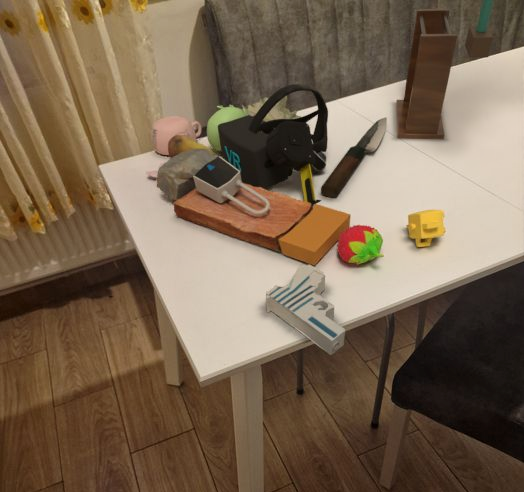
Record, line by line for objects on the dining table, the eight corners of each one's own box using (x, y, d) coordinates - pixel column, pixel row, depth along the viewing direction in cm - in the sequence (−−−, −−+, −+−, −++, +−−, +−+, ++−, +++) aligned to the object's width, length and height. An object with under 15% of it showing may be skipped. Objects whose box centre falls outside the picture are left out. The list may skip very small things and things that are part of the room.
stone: (191, 149, 102) (206, 129, 95) (215, 182, 104) (231, 166, 97) (146, 177, 96) (159, 158, 90) (172, 212, 98) (187, 196, 91)
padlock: (219, 153, 91) (279, 190, 85) (222, 172, 95) (280, 208, 89) (192, 174, 89) (252, 213, 83) (197, 192, 93) (254, 230, 87)
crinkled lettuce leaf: (283, 124, 127) (231, 134, 121) (280, 91, 123) (227, 100, 117) (320, 127, 115) (264, 139, 109) (318, 90, 111) (260, 100, 105)
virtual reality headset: (214, 166, 108) (202, 94, 97) (300, 134, 115) (298, 63, 104) (259, 203, 97) (252, 126, 86) (351, 165, 103) (355, 88, 92)
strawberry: (324, 223, 80) (364, 251, 74) (360, 210, 83) (402, 236, 77) (322, 254, 84) (360, 282, 78) (357, 240, 87) (396, 267, 81)
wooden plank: (313, 268, 82) (313, 252, 79) (174, 218, 94) (170, 202, 91) (349, 228, 89) (351, 212, 86) (216, 186, 101) (214, 171, 98)
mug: (140, 119, 111) (147, 145, 115) (157, 132, 105) (163, 160, 109) (189, 106, 115) (193, 132, 119) (208, 117, 109) (212, 145, 113)
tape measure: (297, 133, 95) (262, 128, 91) (311, 122, 91) (275, 115, 87) (309, 208, 94) (274, 206, 90) (323, 200, 91) (288, 197, 86)
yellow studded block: (428, 242, 88) (401, 247, 88) (426, 209, 87) (398, 213, 86) (452, 244, 81) (422, 249, 80) (450, 207, 79) (420, 212, 79)
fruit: (168, 126, 104) (225, 132, 106) (169, 147, 110) (223, 152, 111) (166, 147, 102) (225, 153, 104) (167, 167, 108) (223, 172, 109)
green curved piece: (206, 84, 101) (190, 112, 111) (220, 138, 102) (202, 161, 111) (258, 85, 107) (237, 111, 116) (270, 136, 107) (249, 158, 117)
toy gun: (306, 261, 78) (258, 291, 74) (378, 307, 70) (329, 343, 66) (306, 276, 80) (259, 306, 76) (376, 322, 73) (328, 358, 69)
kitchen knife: (346, 189, 93) (321, 184, 95) (345, 200, 95) (320, 195, 97) (397, 113, 114) (375, 110, 116) (395, 123, 116) (374, 120, 118)
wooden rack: (396, 103, 124) (409, 8, 109) (437, 104, 122) (457, 8, 108) (397, 138, 111) (412, 36, 97) (443, 139, 110) (466, 36, 95)
